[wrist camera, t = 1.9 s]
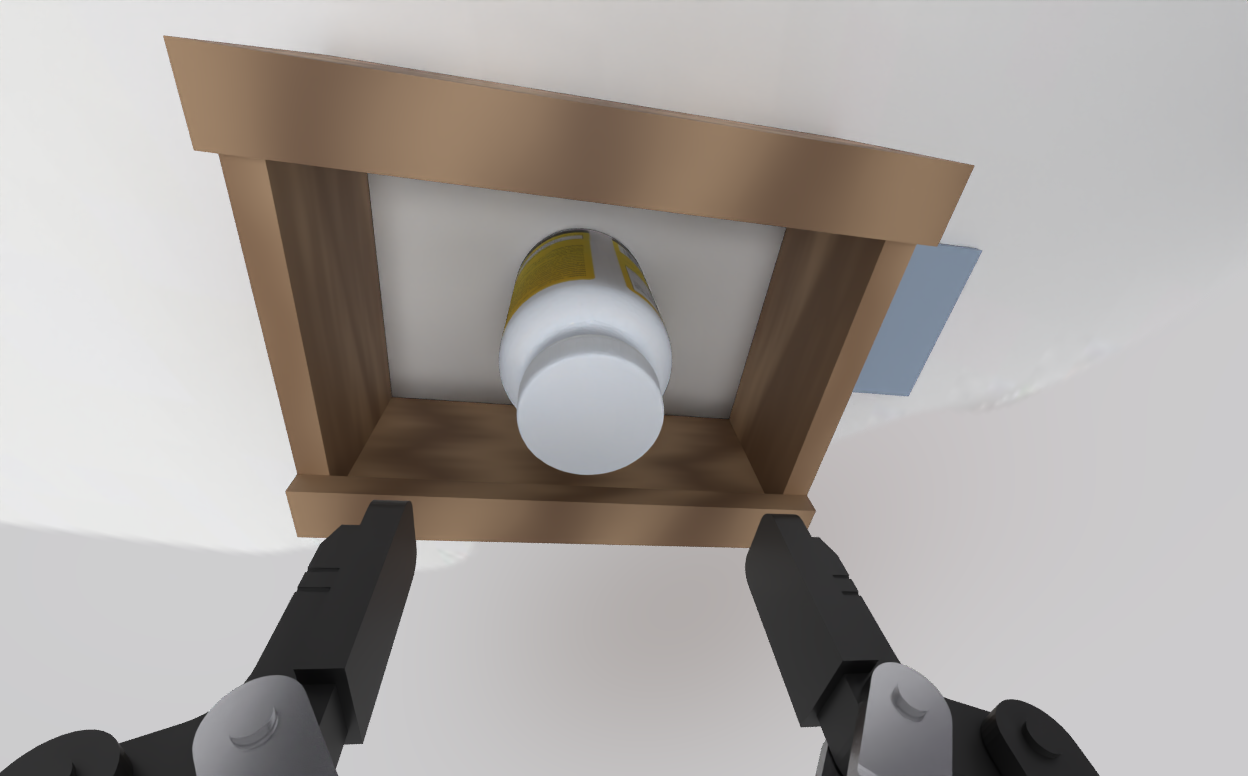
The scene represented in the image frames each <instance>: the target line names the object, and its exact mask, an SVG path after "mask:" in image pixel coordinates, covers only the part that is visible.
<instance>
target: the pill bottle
mask: <svg viewBox="0 0 1248 776" xmlns="http://www.w3.org/2000/svg"><path fill="white" fill-rule="evenodd" d="M671 369H672V350H671V344H670V340H669V336H668V333H667V330H666V328H665V325H664V323H663V321H662V318H661V316H660V314H659V311H658V309H657V306H656V304H655V302H654V299H653V297H652V295H651V292H650V290H649V288H648V285H647V283H646V280H645V278H644V276H643V273H642V271H641V269H640V266H639V265H638V263H637V261H636V259H635V258H634V257H633V255H632V254H631V253H630V252H629V250H628V249H627V248H626V247H625V246H623V245H622V244H621V243H620V242H618V241H617V240H616V239H614V238H612V237H610V236H608V235H606V234H604V233H601V232H598V231H594V230H588V229H571V230H565V231H561V232H558V233H555V234H553V235H550V236H549V237H547V238H545V239H543V240H542V241H541V242H539V243H538V244H537V245H536V246H535V247H534V248H533V249H532V250H531V251H530V252H529V253H528V255H527V256H526V258H525V259H524V261H523V262H522V264H521V266H520V269H519V271H518V275H517V278H516V282H515V286H514V290H513V294H512V298H511V303H510V307H509V311H508V315H507V319H506V323H505V327H504V331H503V335H502V339H501V344H500V351H499V371H500V376H501V381H502V384H503V387H504V389H505V392H506V394H507V396H508V397H509V399H510V401H511V402H512V404H513V405H514V406H515V408H516V409H517V424H518V428H519V432H520V435H521V437H522V439H523V441H524V442H525V444H526V446H527V447H528V449H529V450H530V451H531V452H532V453H533V454H534V455H535V456H536V457H537V458H539V459H540V460H542V461H543V462H544V463H546V464H547V465H549V466H551V467H553V468H556V469H558V470H561V471H564V472H568V473H573V474H580V475H594V474H603V473H608V472H612V471H615V470H618V469H621V468H623V467H625V466H628V465H629V464H631V463H633V462H634V461H636V460H637V459H639V458H640V457H641V456H643V455H644V454H645V453H646V452H647V451H648V450H649V449H650V447H651V446H652V445H653V444H654V442H655V441H656V439H657V437H658V435H659V433H660V430H661V428H662V425H663V419H664V403H663V398H662V396H663V394H664V393H665V390H666V388H667V385H668V382H669V379H670V374H671Z"/></svg>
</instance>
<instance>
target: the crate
mask: <svg viewBox="0 0 1248 776" xmlns="http://www.w3.org/2000/svg"><path fill="white" fill-rule="evenodd" d="M163 37H164V41H165V44H166V48H167V52H168V56H169V59H170V63H171V67H172V71H173V74H174V78H175V82H176V85H177V89H178V93H179V97H180V100H181V104H182V108H183V112H184V115H185V119H186V123H187V126H188V130H189V134H190V138H191V141H192V145H193V149H194V150H196V151H203V152H211V153H218V154H219V158H220V162H221V166H222V170H223V174H224V178H225V182H226V186H227V190H228V194H229V198H230V202H231V207H232V211H233V215H234V219H235V223H236V227H237V231H238V235H239V239H240V243H241V247H242V251H243V255H244V259H245V263H246V267H247V272H248V276H249V280H250V284H251V288H252V292H253V296H254V300H255V304H256V308H257V312H258V316H259V320H260V324H261V328H262V332H263V336H264V341H265V345H266V349H267V353H268V357H269V361H270V365H271V369H272V373H273V377H274V381H275V385H276V389H277V393H278V397H279V401H280V406H281V410H282V414H283V418H284V422H285V426H286V430H287V434H288V438H289V442H290V446H291V450H292V454H293V458H294V462H295V466H296V470H297V475H296V477H295V478H294V480H293V481H292V483H291V484H290V486H289V487H288V488H287V490H286V491H285V492H286V496H287V499H288V503H289V507H290V510H291V514H292V518H293V522H294V525H295V529H296V533H297V537H313V538H327V537H329V536H330V535H331V534H332V533H333V532H334V531H335V530H336V529H337V528H338V527H340V526H341V525H360V523H361V521H362V519H363V517H364V515H365V512H366V510H367V508H368V506H369V504H370V503H371V501H372V500H399V501H411V503H412V506H413V516H414V527H415V538H416V540H438V541H480V542H483V541H484V542H522V543H523V542H524V543H565V544H607V545H648V546H649V545H650V546H651V545H652V546H690V547H694V546H695V547H731V548H750V546H751V544H752V541H753V539H754V536H755V534H756V531H757V528H758V526H759V523H760V521H761V518H762V517H763V515H764V514H796V515H798V516H799V517H800V518H801V519H802V520H803V522H804V524H805V526H806V528H807V529H808V527H809V525H810V523H811V520H812V518H813V516H814V514H815V511H816V510H815V509H814V507H813V505H812V503H811V502H810V500H809V498H808V497H807V494H808V491H809V489H810V487H811V485H812V483H813V480H814V478H815V476H816V473H817V471H818V469H819V467H820V464H821V462H822V460H823V457H824V455H825V453H826V451H827V448H828V446H829V444H830V441H831V439H832V437H833V435H834V432H835V430H836V428H837V425H838V423H839V421H840V419H841V416H842V414H843V412H844V409H845V407H846V405H847V403H848V400H849V398H850V396H851V393H852V391H853V389H854V387H855V384H856V382H857V380H858V377H859V375H860V373H861V371H862V368H863V366H864V364H865V361H866V359H867V357H868V355H869V352H870V350H871V348H872V345H873V343H874V341H875V339H876V336H877V334H878V332H879V330H880V327H881V325H882V323H883V320H884V318H885V316H886V314H887V311H888V309H889V307H890V304H891V302H892V300H893V298H894V295H895V293H896V291H897V288H898V286H899V284H900V282H901V279H902V277H903V275H904V272H905V270H906V268H907V266H908V263H909V261H910V259H911V256H912V254H913V252H914V250H915V247H916V245H917V244H919V245H926V246H934V247H937V246H938V244H939V242H940V240H941V238H942V235H943V233H944V231H945V229H946V227H947V225H948V222H949V220H950V218H951V216H952V214H953V211H954V209H955V207H956V205H957V203H958V201H959V198H960V196H961V194H962V192H963V190H964V188H965V185H966V183H967V181H968V179H969V177H970V174H971V172H972V170H973V168H974V165H969V164H964V163H959V162H954V161H949V160H944V159H939V158H934V157H929V156H924V155H919V154H915V153H910V152H905V151H900V150H895V149H890V148H885V147H880V146H875V145H870V144H865V143H860V142H855V141H850V140H845V139H840V138H834V137H828V136H822V135H816V134H810V133H803V132H797V131H791V130H785V129H779V128H773V127H766V126H760V125H754V124H748V123H742V122H736V121H729V120H723V119H717V118H711V117H705V116H699V115H692V114H686V113H680V112H674V111H668V110H662V109H655V108H649V107H643V106H637V105H631V104H625V103H618V102H612V101H606V100H600V99H594V98H588V97H581V96H575V95H569V94H563V93H557V92H551V91H544V90H538V89H532V88H526V87H520V86H514V85H507V84H501V83H495V82H489V81H483V80H477V79H471V78H464V77H458V76H452V75H446V74H440V73H434V72H427V71H421V70H415V69H409V68H403V67H397V66H390V65H384V64H378V63H372V62H366V61H360V60H353V59H347V58H341V57H335V56H329V55H323V54H314V53H306V52H298V51H289V50H281V49H272V48H264V47H256V46H247V45H239V44H230V43H222V42H214V41H205V40H197V39H188V38H180V37H172V36H163ZM367 173H372V174H380V175H388V176H396V177H403V178H411V179H419V180H426V181H434V182H442V183H449V184H457V185H465V186H472V187H480V188H488V189H496V190H503V191H511V192H519V193H526V194H534V195H542V196H549V197H557V198H565V199H572V200H580V201H588V202H595V203H603V204H611V205H619V206H626V207H634V208H642V209H649V210H657V211H665V212H672V213H680V214H688V215H695V216H703V217H711V218H719V219H726V220H734V221H742V222H749V223H757V224H765V225H772V226H780V227H787V228H786V231H785V235H784V238H783V241H782V245H781V248H780V251H779V254H778V258H777V261H776V264H775V268H774V271H773V274H772V278H771V281H770V284H769V288H768V291H767V294H766V298H765V301H764V304H763V308H762V311H761V314H760V318H759V321H758V324H757V328H756V331H755V334H754V338H753V341H752V344H751V348H750V351H749V354H748V358H747V361H746V364H745V368H744V371H743V374H742V377H741V381H740V384H739V387H738V391H737V394H736V397H735V401H734V404H733V407H732V411H731V414H730V417H729V419H718V418H703V417H688V416H673V415H664V419H663V425H662V428H661V430H660V433H659V435H658V437H657V439H656V441H655V442H654V444H653V445H652V446H651V447H650V449H649V450H648V451H647V452H646V453H645V454H644V455H643V456H641V457H640V458H639V459H637V460H636V461H634V462H633V463H631V464H629V465H628V466H625V467H623V468H621V469H618V470H615V471H612V472H608V473H603V474H594V475H580V474H573V473H568V472H564V471H561V470H558V469H556V468H553V467H551V466H549V465H547V464H546V463H544V462H543V461H542V460H540V459H539V458H537V457H536V456H535V455H534V454H533V453H532V452H531V451H530V450H529V449H528V447H527V446H526V444H525V442H524V441H523V439H522V437H521V435H520V432H519V428H518V424H517V409H516V408H515V406H514V405H505V404H489V403H474V402H459V401H443V400H428V399H413V398H398V397H392V393H391V384H390V375H389V366H388V357H387V348H386V339H385V330H384V321H383V312H382V303H381V294H380V285H379V276H378V267H377V258H376V249H375V240H374V231H373V222H372V212H371V203H370V194H369V185H368V176H367Z"/></svg>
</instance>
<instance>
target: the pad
mask: <svg viewBox="0 0 1248 776" xmlns="http://www.w3.org/2000/svg"><path fill="white" fill-rule="evenodd" d="M981 252H982V250H979V249H976V248H969V247H961V246H953V245H946V244H938V246H937V247H934V246H926V245H919V244H917V245H916V247H915V250H914V252H913V254H912V256H911V259H910V261H909V263H908V266H907V268H906V270H905V272H904V275H903V277H902V279H901V282H900V284H899V286H898V288H897V291H896V293H895V295H894V298H893V300H892V302H891V304H890V307H889V309H888V311H887V314H886V316H885V318H884V320H883V323H882V325H881V327H880V330H879V332H878V334H877V336H876V339H875V341H874V343H873V345H872V348H871V350H870V352H869V355H868V357H867V359H866V361H865V364H864V366H863V368H862V371H861V373H860V375H859V377H858V380H857V382H856V384H855V387H854V389H853V391H852V392H859V393H872V394H885V395H898V396H909V394H910V392H911V390H912V388H913V386H914V384H915V382H916V380H917V378H918V377H919V375H920V373H921V371H922V369H923V367H924V365H925V363H926V361H927V359H928V357H929V355H930V353H931V351H932V349H933V347H934V345H935V343H936V341H937V339H938V337H939V335H940V333H941V331H942V329H943V327H944V325H945V323H946V321H947V319H948V317H949V315H950V313H951V311H952V309H953V308H954V306H955V304H956V302H957V300H958V298H959V296H960V294H961V292H962V290H963V288H964V286H965V284H966V282H967V280H968V278H969V276H970V274H971V272H972V270H973V268H974V266H975V264H976V262H977V260H978V258H979V256H980V254H981Z"/></svg>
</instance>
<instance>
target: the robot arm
mask: <svg viewBox="0 0 1248 776" xmlns="http://www.w3.org/2000/svg"><path fill="white" fill-rule="evenodd" d="M416 555H417V549H416V538H415V527H414V516H413V506H412V503H411V501H399V500H372V501H371V503H370V504H369V506H368V508H367V510H366V512H365V515H364V517H363V519H362V521H361V523H360V525H341V526H340V527H338V528H337V529H336V530H335V531H334V532H333V533H332V534H331V535H330V536H329V537H327V538H326V539H325V540H324V541H323V542H322V543H321V544H320V545H319V547H318V549H317V551H316V553H315V555H314V557H313V559H312V561H311V562H310V564H309V566H308V571H307V572H305V574H304V576H303V578H302V580H301V581H300V584H299V585H298V590H297V592H295V593H294V595H293V597H292V598H291V600H290V602H289V604H288V606H287V608H286V610H285V612H284V614H283V616H282V618H281V619H280V621H279V623H278V625H277V627H276V629H275V631H274V633H273V634H272V636H271V638H270V640H269V642H268V644H267V646H266V648H265V650H264V652H263V653H262V655H261V657H260V659H259V661H258V663H257V665H256V667H255V668H254V670H253V672H252V673H251V675H250V676H249V677H248V679H247V680H246V681H245V683H244V684H242V685H241V686H239V687H237V688H236V689H234V690H232V691H231V692H230V693H228V694H227V695H226V696H224V697H223V698H222V699H221V700H220V701H219V702H217V704H215V705H214V707H213V708H212V709H211V710H210V711H209V712H207V713H206V714H204V715H201V716H199V717H197V718H195V719H193V720H190V721H187V722H185V723H182V724H179V725H176V726H172V727H169V728H166V729H163V730H160V731H157V732H154V733H151V734H147V735H144V736H141V737H138V738H135V739H132V740H129V741H125V742H122V743H118V742H117V740H116V739H115V738H114V737H113V736H112V735H111V734H108V733H106V732H104V731H100V730H82V731H75V732H71V733H68V734H65V735H61V736H59V737H56V738H54V739H52V740H49V741H47V742H45V743H43V744H41V745H39V746H37V747H35V748H34V749H32V750H31V751H29V752H27V753H26V754H24V755H23V756H21V757H20V758H18V759H17V760H16V761H14V762H13V763H11V764H10V765H9V766H8V767H7V768H5V769H4V770H3V771H2V772H1V773H0V776H338V774H337V772H336V766H337V763H338V760H339V757H340V754H341V751H342V748H343V745H344V744H363V741H364V738H365V735H366V731H367V727H368V725H369V722H370V718H371V715H372V712H373V708H374V705H375V701H376V699H377V695H378V692H379V689H380V685H381V682H382V679H383V675H384V672H385V669H386V666H387V662H388V659H389V656H390V652H391V649H392V646H393V643H394V639H395V636H396V633H397V629H398V626H399V622H400V619H401V616H402V613H403V609H404V606H405V603H406V600H407V596H408V593H409V590H410V586H411V583H412V580H413V576H414V571H415V566H416ZM745 571H746V578H747V582H748V585H749V588H750V591H751V594H752V596H753V599H754V602H755V604H756V607H757V610H758V612H759V615H760V618H761V621H762V623H763V626H764V629H765V631H766V634H767V637H768V640H769V642H770V645H771V647H772V650H773V653H774V656H775V658H776V661H777V664H778V667H779V669H780V672H781V675H782V677H783V680H784V683H785V686H786V688H787V691H788V694H789V696H790V699H791V702H792V704H793V707H794V710H795V712H796V715H797V718H798V721H799V723H800V726H801V727H817V726H821V728H822V730H823V733H824V736H825V738H826V740H825V742H824V743H823V746H822V748H821V753H820V758H819V762H818V766H817V771H816V776H1099V774H1098V773H1097V771H1095V769H1094V767H1093V766H1092V765H1091V763H1090V762H1089V761H1088V759H1087V758H1086V756H1085V755H1084V754H1083V752H1082V751H1081V749H1080V748H1079V747H1078V746H1077V744H1076V743H1075V741H1074V740H1073V739H1072V738H1071V736H1070V735H1069V734H1068V733H1067V732H1066V731H1065V729H1063V727H1062V726H1060V725H1059V724H1058V723H1057V722H1056V721H1055V720H1054V719H1053V718H1051V717H1050V716H1049V715H1048V714H1046V713H1045V712H1043V711H1042V710H1040V709H1038V708H1036V707H1035V706H1033V705H1031V704H1028V703H1026V702H1023V701H1019V700H1013V699H1010V700H1004V701H1002V702H1001V703H999V705H997V706H996V708H994V709H993V710H992V711H991V712H988V711H985V710H981V709H978V708H975V707H972V706H969V705H966V704H962V703H960V702H956V701H953V700H950V699H947V698H944V697H943V696H942V695H941V693H940V692H939V690H938V689H937V688H936V687H935V686H934V685H933V684H932V683H931V682H930V681H929V680H928V679H927V678H926V677H924V676H923V675H922V674H920V673H919V672H917V671H916V670H914V669H912V668H910V667H908V666H906V665H903V664H901V663H900V661H899V660H898V659H897V657H896V655H895V654H894V652H893V650H892V649H891V647H890V645H889V643H888V641H887V640H886V638H885V636H884V635H883V633H882V631H881V630H880V628H879V626H878V624H877V623H876V621H875V619H874V617H873V616H872V614H871V612H870V611H869V609H868V607H867V605H866V604H865V602H864V600H863V598H862V597H861V596H859V595H858V590H857V588H856V586H855V585H854V583H853V581H852V580H851V579H849V574H848V573H847V571H846V569H845V567H844V566H843V564H842V562H841V561H840V559H839V557H838V556H837V554H836V553H835V552H834V551H833V550H832V549H831V548H829V547H828V546H827V545H826V544H825V543H824V542H823V541H822V540H821V539H820V538H819V537H811V535H810V533H809V531H808V530H807V528H806V526H805V524H804V522H803V520H802V519H801V518H800V517H799V516H798V515H796V514H764V515H763V517H762V518H761V521H760V523H759V526H758V528H757V531H756V534H755V536H754V539H753V541H752V544H751V546H750V549H749V552H748V554H747V557H746V563H745Z"/></svg>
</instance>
